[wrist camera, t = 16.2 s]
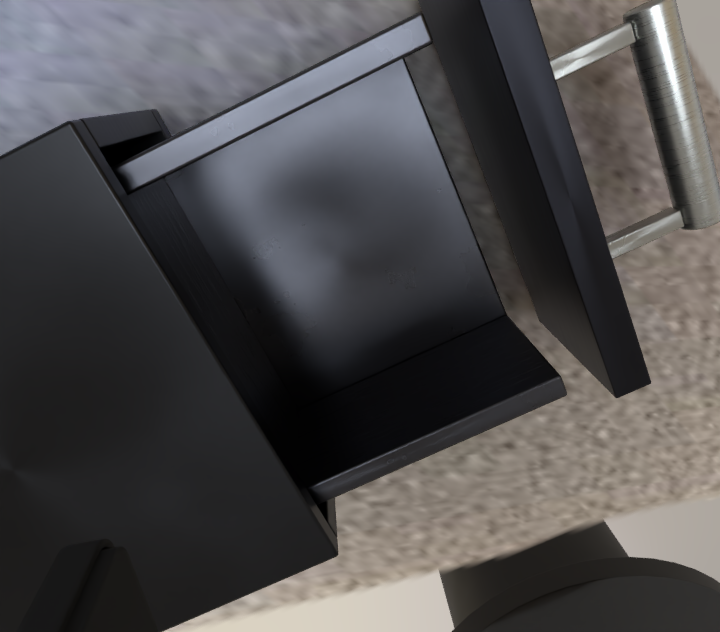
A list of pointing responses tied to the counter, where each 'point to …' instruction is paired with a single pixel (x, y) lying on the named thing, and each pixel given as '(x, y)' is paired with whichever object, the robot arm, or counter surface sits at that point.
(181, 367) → the black storage cabinet
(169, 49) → the counter surface
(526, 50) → the drawer
